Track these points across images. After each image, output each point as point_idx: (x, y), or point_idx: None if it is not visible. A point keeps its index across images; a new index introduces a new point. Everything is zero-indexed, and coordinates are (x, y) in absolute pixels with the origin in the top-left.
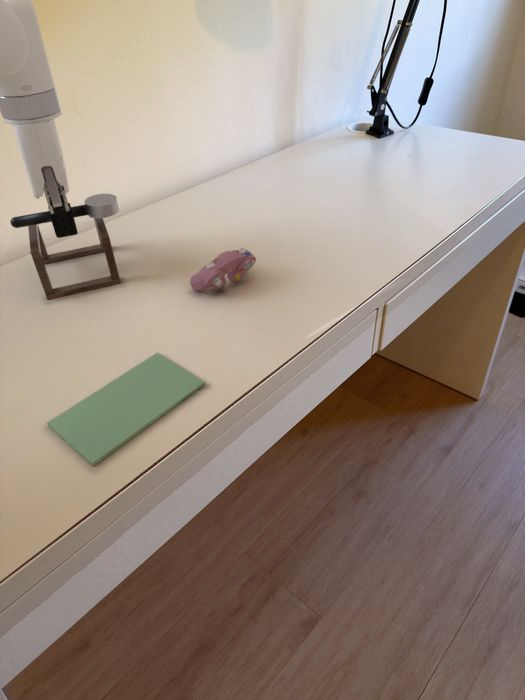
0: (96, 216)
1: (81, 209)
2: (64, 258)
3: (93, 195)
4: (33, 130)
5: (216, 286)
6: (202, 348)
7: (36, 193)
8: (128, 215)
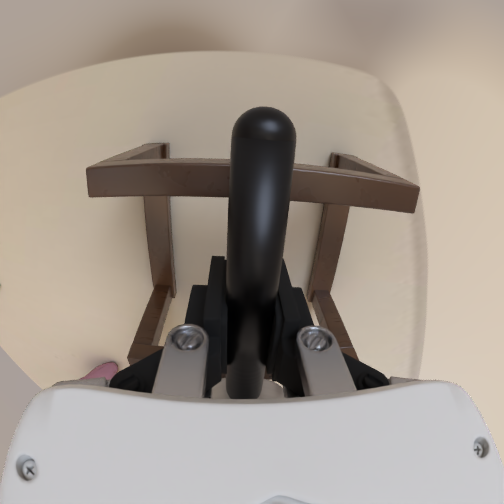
0: None
1: (228, 389)
2: (324, 205)
3: None
4: None
5: None
6: (14, 323)
7: (22, 414)
8: (409, 334)
